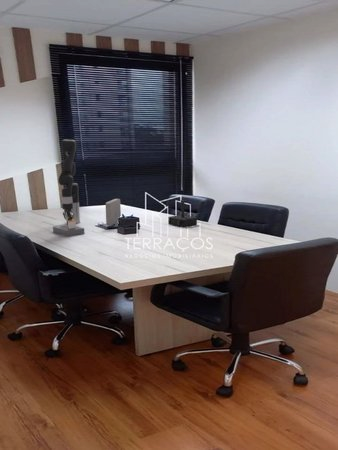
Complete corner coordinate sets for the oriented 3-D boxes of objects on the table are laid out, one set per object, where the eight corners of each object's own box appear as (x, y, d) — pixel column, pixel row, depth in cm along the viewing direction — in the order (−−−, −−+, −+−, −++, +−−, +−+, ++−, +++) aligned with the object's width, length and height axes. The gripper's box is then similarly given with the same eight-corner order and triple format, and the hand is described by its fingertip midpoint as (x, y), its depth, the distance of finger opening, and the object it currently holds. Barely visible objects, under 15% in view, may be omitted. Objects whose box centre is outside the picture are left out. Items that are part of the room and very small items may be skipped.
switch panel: (53, 231, 320) (52, 226, 319) (69, 229, 329) (69, 224, 328) (67, 236, 304) (67, 231, 303) (84, 233, 313) (84, 228, 312)
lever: (68, 228, 311) (67, 220, 310) (74, 227, 314) (73, 219, 313) (70, 228, 309) (69, 220, 307) (76, 227, 312) (75, 219, 311)
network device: (113, 228, 332) (112, 202, 328) (103, 227, 334) (102, 202, 330) (123, 222, 357) (122, 198, 353) (113, 221, 358) (112, 198, 354)
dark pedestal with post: (166, 224, 344) (166, 200, 340) (181, 222, 355) (181, 198, 351) (182, 228, 330) (182, 202, 326) (197, 225, 341) (197, 200, 337)
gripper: (76, 203, 309) (77, 226, 312) (67, 201, 318) (68, 223, 322) (67, 204, 304) (68, 227, 307) (58, 202, 313) (59, 225, 317)
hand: (68, 225), depth 314 cm, fingers closed
